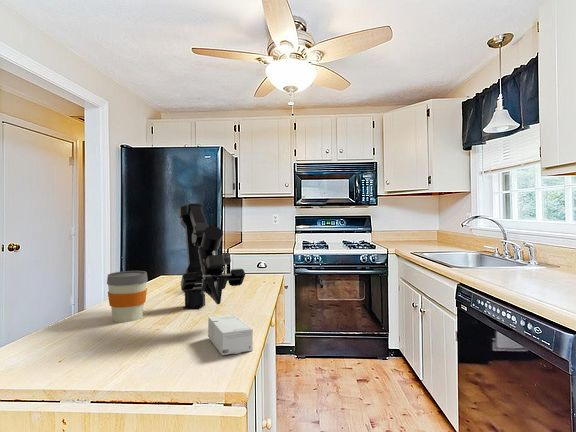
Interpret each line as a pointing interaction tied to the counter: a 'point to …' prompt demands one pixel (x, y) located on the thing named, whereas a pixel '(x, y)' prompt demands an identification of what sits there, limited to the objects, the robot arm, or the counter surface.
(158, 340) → the counter surface
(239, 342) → the skincare box
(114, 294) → the reusable coffee cup
